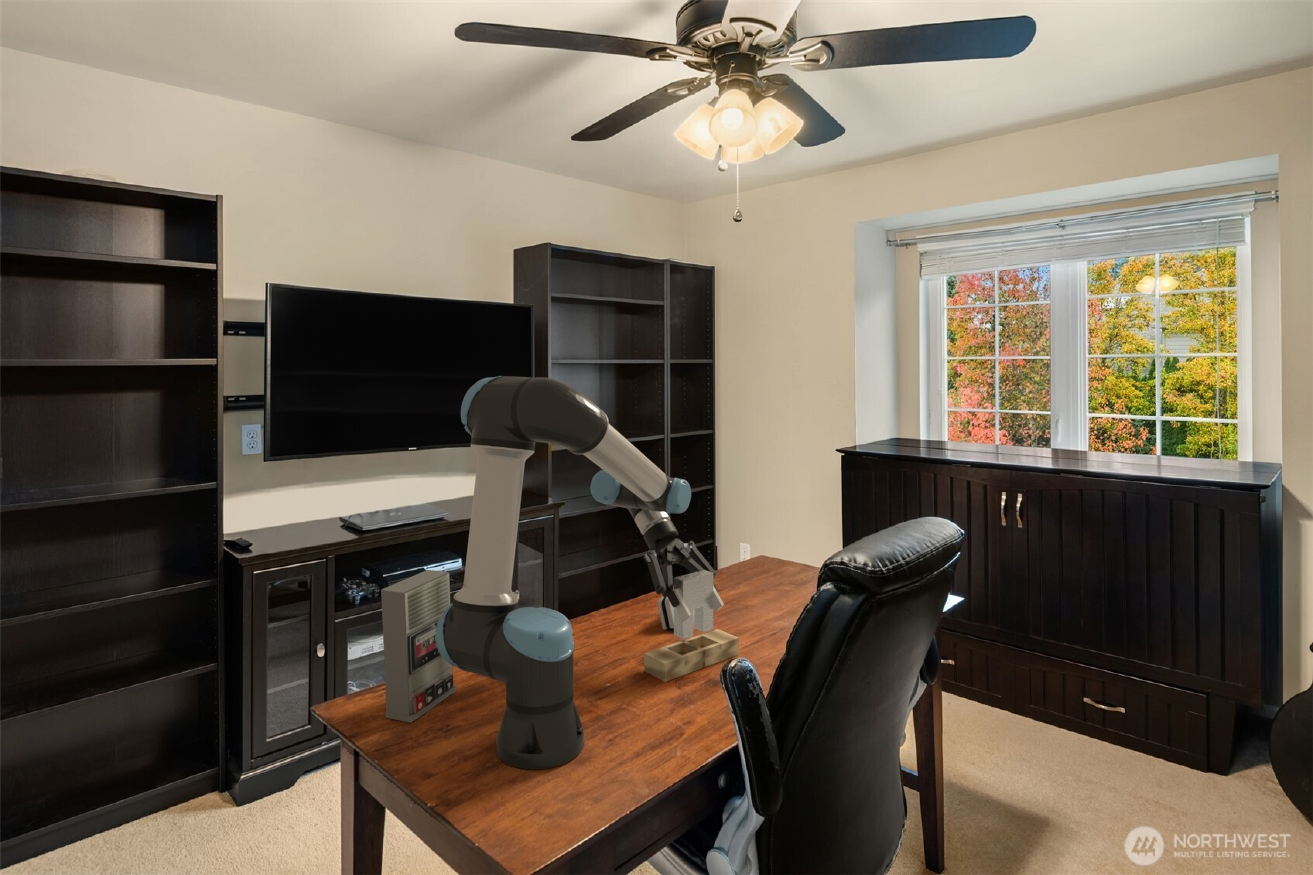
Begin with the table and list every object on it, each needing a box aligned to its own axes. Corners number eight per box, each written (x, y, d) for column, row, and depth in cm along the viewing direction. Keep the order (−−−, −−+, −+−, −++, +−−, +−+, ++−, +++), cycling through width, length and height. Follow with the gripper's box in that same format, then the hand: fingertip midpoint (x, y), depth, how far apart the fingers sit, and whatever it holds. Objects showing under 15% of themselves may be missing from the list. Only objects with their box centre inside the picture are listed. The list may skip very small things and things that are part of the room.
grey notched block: (683, 639, 158) (683, 581, 156) (674, 635, 160) (673, 577, 159) (713, 629, 164) (713, 572, 162) (704, 625, 166) (704, 569, 164)
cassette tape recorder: (412, 724, 135) (407, 593, 132) (385, 718, 137) (380, 589, 134) (457, 692, 148) (453, 572, 145) (432, 687, 150) (427, 569, 147)
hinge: (679, 633, 179) (667, 593, 180) (664, 635, 182) (652, 596, 183) (712, 613, 193) (701, 576, 194) (697, 615, 196) (686, 579, 197)
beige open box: (665, 681, 152) (665, 663, 152) (644, 670, 158) (644, 653, 157) (738, 654, 166) (738, 637, 166) (717, 645, 172) (717, 628, 171)
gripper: (684, 529, 178) (730, 610, 168) (612, 545, 165) (657, 633, 154) (699, 512, 174) (747, 593, 163) (626, 526, 160) (674, 616, 150)
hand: (703, 613), depth 159 cm, fingers closed on grey notched block, 9 cm apart
